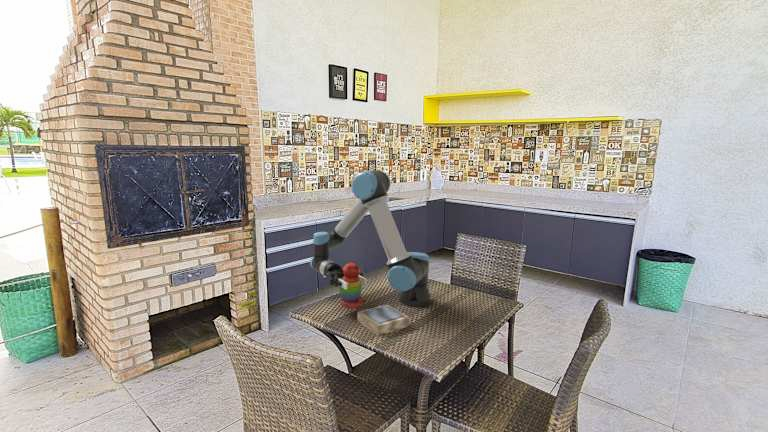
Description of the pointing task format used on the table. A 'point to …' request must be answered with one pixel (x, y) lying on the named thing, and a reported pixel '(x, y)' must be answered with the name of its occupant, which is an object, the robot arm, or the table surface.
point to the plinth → (382, 319)
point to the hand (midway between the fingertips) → (356, 284)
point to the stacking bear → (351, 287)
